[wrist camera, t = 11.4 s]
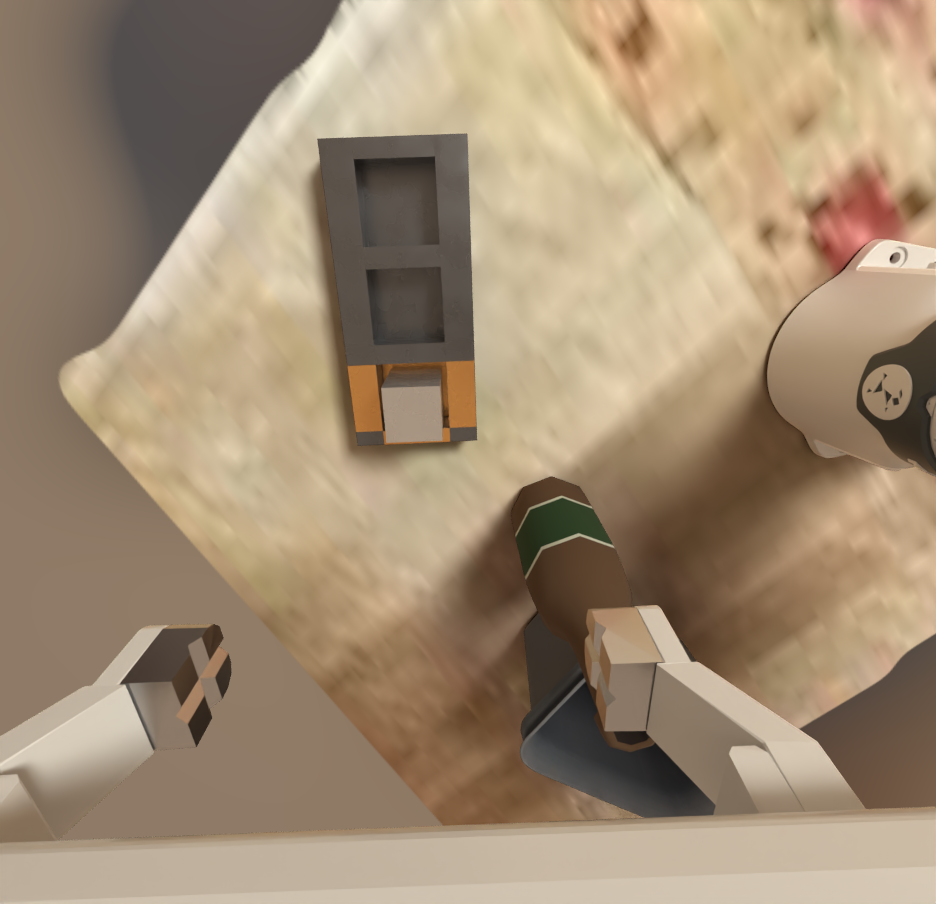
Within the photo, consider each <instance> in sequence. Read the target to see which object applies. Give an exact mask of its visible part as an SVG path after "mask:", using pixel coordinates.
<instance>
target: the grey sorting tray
mask: <svg viewBox="0 0 936 904" xmlns="http://www.w3.org/2000/svg"><path fill="white" fill-rule="evenodd" d="M317 140H318V147H319V155H320V162H321V170H322V178H323V185H324V193H325V200H326V208H327V215H328V223H329V231H330V238H331V246H332V253H333V261H334V269H335V276H336V284H337V291H338V299H339V306H340V314H341V322H342V329H343V337H344V344H345V352H346V360H347V367H348V375H349V382H350V390H351V398H352V405H353V413H354V420H355V428H356V435H357V443H358V446H363V445H388V444H410V443H431V442H450V441H471V440H477V427H476V395H475V363H474V331H473V299H472V267H471V235H470V203H469V171H468V139H467V134H441V135H412V136H384V137H355V138H326V139H317ZM435 365H442V386H443V407H444V419H443V441H422V442H395V443H386V432H385V422H384V412H383V402H382V391H381V387H382V386H383V384H384V382H385V380H386V378H387V376H388V374H389V372H390V370H391V368H392V367H405V366H435Z"/></svg>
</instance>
